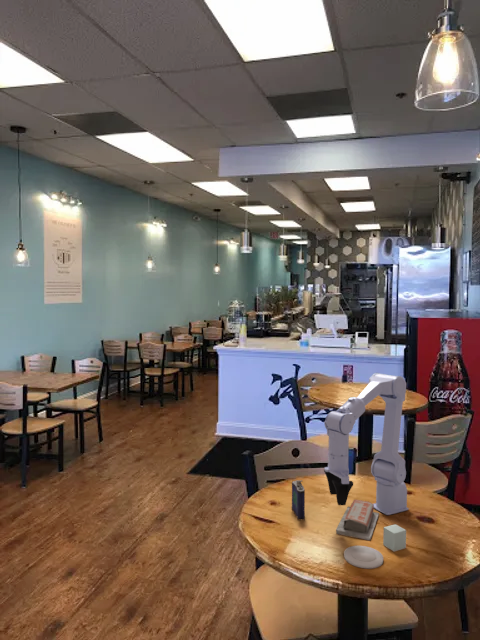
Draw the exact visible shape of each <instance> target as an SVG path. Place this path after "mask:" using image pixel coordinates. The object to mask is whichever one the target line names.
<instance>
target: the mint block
mask: <svg viewBox="0 0 480 640" xmlns="http://www.w3.org/2000/svg"><path fill="white" fill-rule="evenodd" d="M382 537H383V539H382V540H383V543H382V546H384V547H385V548H387V549H389V550H391V551H392V552H397V551H400V550H404V549H406V548H407V529H405V528H403V527H401V526H400V525H398V524H391V525H388V526H387V525H386V526H384V527H383V535H382Z"/></svg>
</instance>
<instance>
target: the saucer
mask: <svg viewBox="0 0 480 640" xmlns="http://www.w3.org/2000/svg"><path fill="white" fill-rule="evenodd" d="M343 557H344V560H345V561H346V562H347V563H348V564H349V565H352V566H354V567H356V568H360V569H367V570H368V569H376V568H379V567H381V566H382V565H383V563H384V555H383V554H382V553H381V551H379V550H378V549H375V548H373V547H370V546H366V545H352V546H351V545H350V546H349V547H346V548H345V550H344V551H343Z"/></svg>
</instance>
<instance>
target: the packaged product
mask: <svg viewBox="0 0 480 640" xmlns="http://www.w3.org/2000/svg"><path fill="white" fill-rule="evenodd" d="M373 504H374V503H372V502H370V501H367V500H360V499H353V501H352V502H351V505H350V506H347V507H346V510H345V511H344V514H343V516H342V517H341V519H340V522H339V523H338V525H337V527H336V529H335V534H336V535H341V536H347V537H351V538H354V539H355V538H357V539H362V540H366V541H371V539H372V537H373V534H374V533H373V532H374V529H375V527H376V525H377V521H378V520H379V519H378V518H379V515H380V513H379V512H376V511H374V509H375V508H374V505H373Z"/></svg>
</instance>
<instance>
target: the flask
mask: <svg viewBox="0 0 480 640" xmlns="http://www.w3.org/2000/svg"><path fill="white" fill-rule="evenodd" d="M302 482H303V480H298V479H296V480H294V481H292V482H291V510H292V511H293V513H294V515H295V516H296V518H297V520H299V521H303V520H305V518H306V515H305V513H306V512H305V504H306V503H305V498H306V496H305V494H306V491H305V490H306V489H305V487H304V485H303V484H302Z"/></svg>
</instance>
